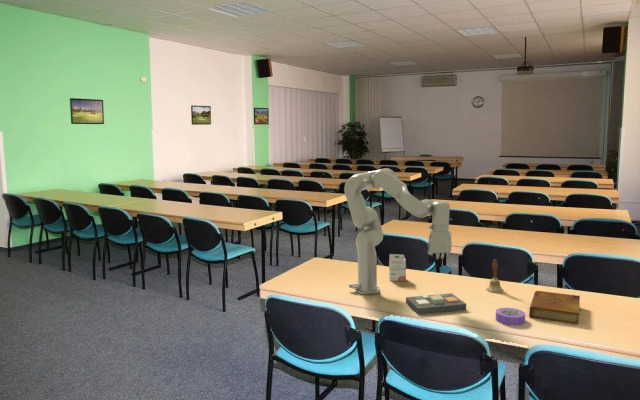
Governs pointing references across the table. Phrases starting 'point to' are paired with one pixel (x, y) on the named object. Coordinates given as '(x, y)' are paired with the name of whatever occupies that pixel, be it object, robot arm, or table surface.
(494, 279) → the hand bell
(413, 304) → the keypad
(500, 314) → the masking tape
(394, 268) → the ink cartridge box
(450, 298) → the key terracotta
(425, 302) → the key cream
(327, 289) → the table surface
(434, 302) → the key sage
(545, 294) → the diary
